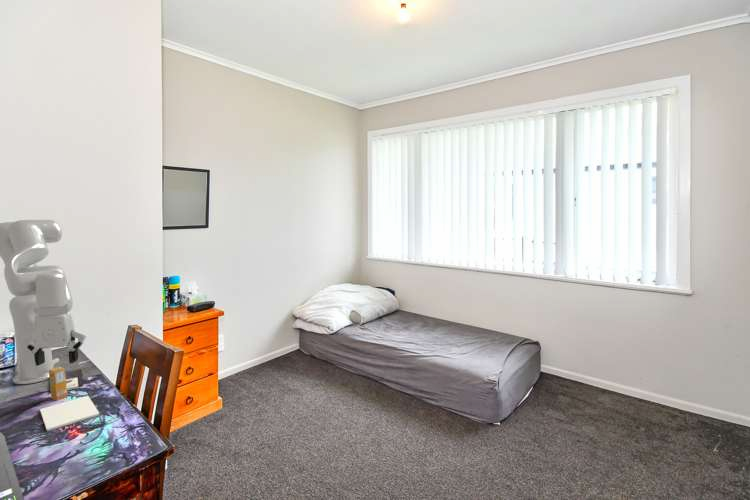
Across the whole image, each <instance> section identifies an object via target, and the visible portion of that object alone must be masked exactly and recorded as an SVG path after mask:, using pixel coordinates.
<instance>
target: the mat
mask: <svg viewBox="0 0 750 500" xmlns="http://www.w3.org/2000/svg"><path fill="white" fill-rule="evenodd" d="M39 411H40V414H41V417H42V420H43V424H44V426H45V429H46V431H47V432H49V431H52V430H57V429H59V428H62V427H65V426H69V425H72V424H74V423H78V422H82V421H84V420H89V419H91V418H95V417H98V416H100V412H99V410H98V409H97V407H96V406H95V404H94V402H93V401H92V400H91V398H90V396H89V395H86V396H83V397H79V398H75V399H72V400H68V401H64V402H61V403H57V404H54V405H50V406H45V407H42V408H40V409H39Z"/></svg>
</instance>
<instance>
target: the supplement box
mask: <svg viewBox="0 0 750 500" xmlns="http://www.w3.org/2000/svg"><path fill="white" fill-rule="evenodd" d="M65 372H66V371H65V367H61V366H57V367H54V368H53V369H51V370H49V379H48V380H49V389H51V393H50V397H51V400H53V401H57V400H58V401H60V400H62V398H63V399H64V398H67V397H68V390H67V387H66V378H65ZM59 399H60V400H59Z"/></svg>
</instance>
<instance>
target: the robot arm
mask: <svg viewBox="0 0 750 500" xmlns="http://www.w3.org/2000/svg"><path fill="white" fill-rule="evenodd" d="M62 236H63V230H62V227H61V226H60V224H59V223H58V222H57V221H55V220H54V219H20V220H15V221H7V222H0V259H1V260H2V261H3V263H4V269H3V270H4V271H3V272H4V273H3V274H4V275H3V276H4V280H5V282H6V286H7V289H8V291H9V293H10V294H12V295H13V296H14V297H12V298H11V299H10V300H9V304H8V307H9V312H10V315H11V318H12V322H13V328H14V336H15V348H16V350H15V351H16V361H17V363H16V364H17V372H18V373H17V375H15V376H14V377H12V384H15V385H29V384H35V383H39V382H43V381H46V380H50V379H49V370H51V369H53V368H55V367H54V366H55V365H57V364H58V363H60V358H58V357H55V358H53V354H52V351H53V350H52V349H53V348H55V349H56V348H64V347H66V348H67V349H68V350H70V351H68V361H69V364H74V363H76V362H77V361H78V359H79V349H80V348H81V346H82V345H83V344H84V342H85V340H86V337H87V336H86V335H85V334H82V333H79V332H77V331H76V329H75V325H74V321H73V320H74V319H73V317H72V315H71V313H70V312H71V310H73V306H74V305H73V302H74V301H73V297H72V294H71V291H70V287H69V283H68V279H67V277H66V274H65V271H64V270H63V269H62V267H60V266H59V265H53V264H52V265H38V264H37V263H39V262H42V261H43V260H44V259H46V258H47V256H48V255H49V248H48V246H47V244H53V243H58V242H60V240H61V239H62ZM76 339H77V342H76Z"/></svg>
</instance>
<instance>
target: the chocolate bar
mask: <svg viewBox="0 0 750 500" xmlns="http://www.w3.org/2000/svg"><path fill="white" fill-rule="evenodd" d="M65 378H66V387H67V391H68V390H73V389H76V388H77V389H78V388H81V386H82V387H84V384H83V383H84V381H83V373H82V368H79V369H74V370H69V371H65ZM48 391H49V393H48V394H50V395H51V389H50V388H49V389H48Z"/></svg>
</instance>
